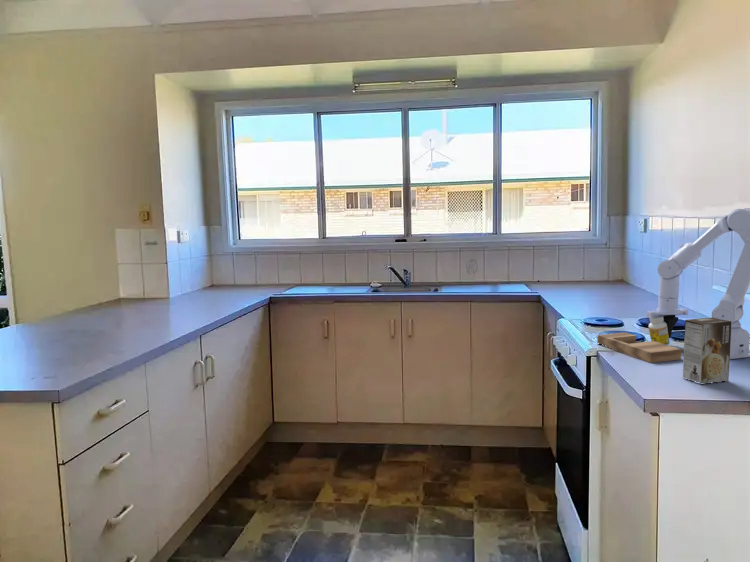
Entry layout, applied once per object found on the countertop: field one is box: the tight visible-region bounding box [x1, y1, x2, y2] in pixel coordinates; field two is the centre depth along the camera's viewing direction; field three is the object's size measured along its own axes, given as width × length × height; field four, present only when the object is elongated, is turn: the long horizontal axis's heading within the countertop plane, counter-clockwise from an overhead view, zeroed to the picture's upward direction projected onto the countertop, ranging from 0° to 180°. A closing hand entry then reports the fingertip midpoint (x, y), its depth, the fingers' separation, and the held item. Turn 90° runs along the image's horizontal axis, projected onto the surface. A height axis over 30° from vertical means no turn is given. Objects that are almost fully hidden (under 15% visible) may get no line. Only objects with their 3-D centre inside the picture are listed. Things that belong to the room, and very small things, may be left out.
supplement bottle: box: [648, 316, 671, 346], centre depth 191 cm, size 5×5×10 cm
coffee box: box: [682, 316, 732, 384], centre depth 154 cm, size 9×6×16 cm
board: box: [596, 331, 682, 364], centre depth 185 cm, size 24×11×3 cm, turn 17°
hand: (665, 338), depth 192 cm, fingers closed, pressing on supplement bottle
